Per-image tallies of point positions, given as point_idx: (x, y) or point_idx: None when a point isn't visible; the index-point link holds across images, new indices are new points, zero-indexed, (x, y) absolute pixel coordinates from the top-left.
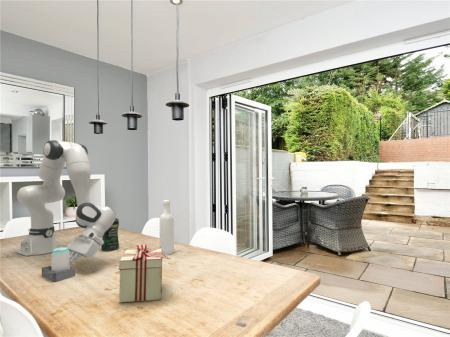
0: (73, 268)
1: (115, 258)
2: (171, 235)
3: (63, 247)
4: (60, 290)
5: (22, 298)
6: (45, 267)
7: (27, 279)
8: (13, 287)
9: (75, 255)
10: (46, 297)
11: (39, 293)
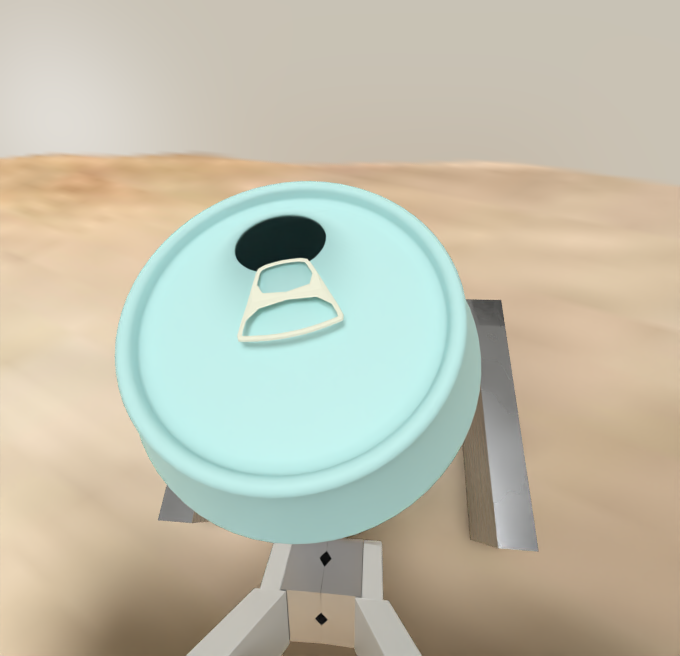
0: (167, 497)
1: None
2: None
3: (395, 428)
4: (63, 300)
5: (177, 163)
6: (488, 327)
7: (474, 251)
8: (382, 172)
9: (211, 653)
10: (64, 224)
11: (151, 221)
